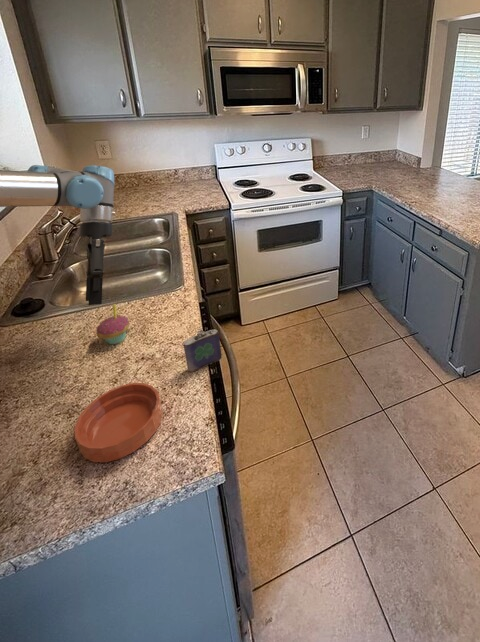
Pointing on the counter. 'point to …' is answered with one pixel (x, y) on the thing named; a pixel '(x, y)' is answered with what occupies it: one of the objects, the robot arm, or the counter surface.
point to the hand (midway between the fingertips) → (93, 302)
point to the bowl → (118, 422)
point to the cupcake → (113, 328)
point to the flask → (202, 349)
